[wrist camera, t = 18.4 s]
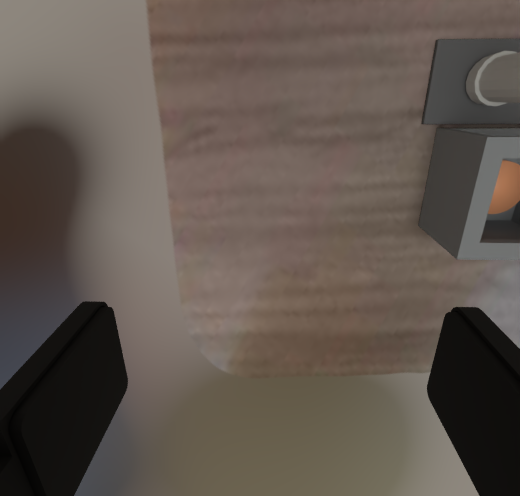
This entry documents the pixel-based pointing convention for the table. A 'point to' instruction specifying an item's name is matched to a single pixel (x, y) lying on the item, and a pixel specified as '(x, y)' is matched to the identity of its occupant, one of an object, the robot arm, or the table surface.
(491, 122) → the mat
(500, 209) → the button
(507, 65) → the grey cylindrical piece
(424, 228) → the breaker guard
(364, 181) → the table surface
